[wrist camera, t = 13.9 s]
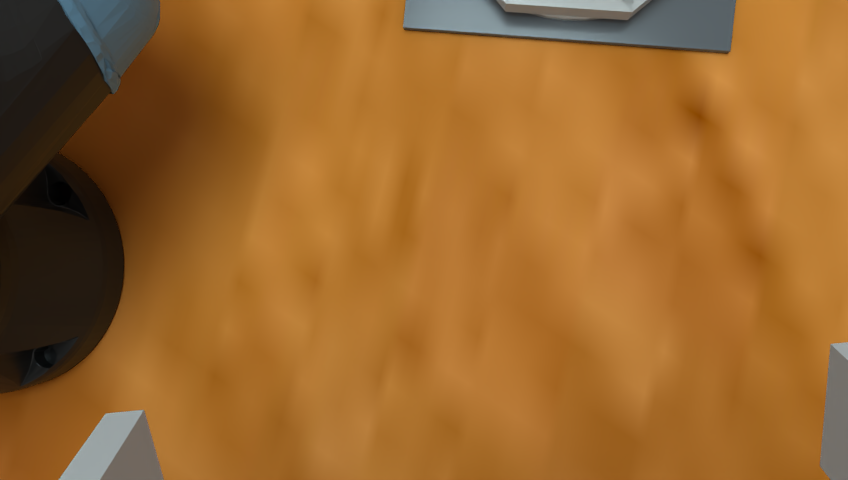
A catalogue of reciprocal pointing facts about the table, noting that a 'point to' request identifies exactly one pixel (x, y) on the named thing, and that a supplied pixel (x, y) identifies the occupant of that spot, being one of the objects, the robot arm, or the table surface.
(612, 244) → the table surface
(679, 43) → the grey octagonal tray
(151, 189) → the table surface
